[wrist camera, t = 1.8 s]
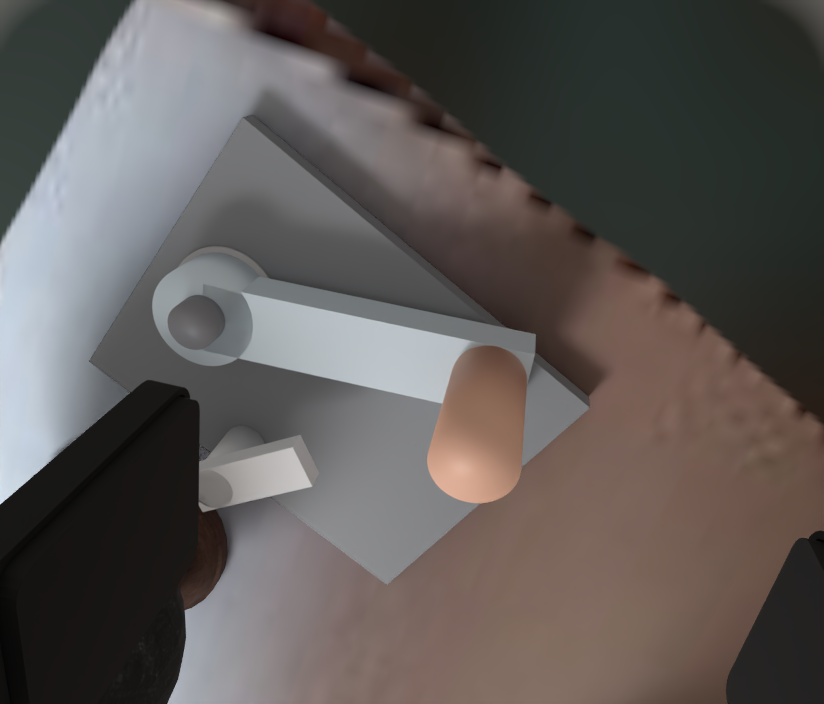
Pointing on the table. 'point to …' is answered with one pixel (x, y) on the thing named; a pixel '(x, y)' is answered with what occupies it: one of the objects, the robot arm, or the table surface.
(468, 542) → the table surface
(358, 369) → the white lever handle
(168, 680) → the black stone ball
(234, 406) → the pintle board
